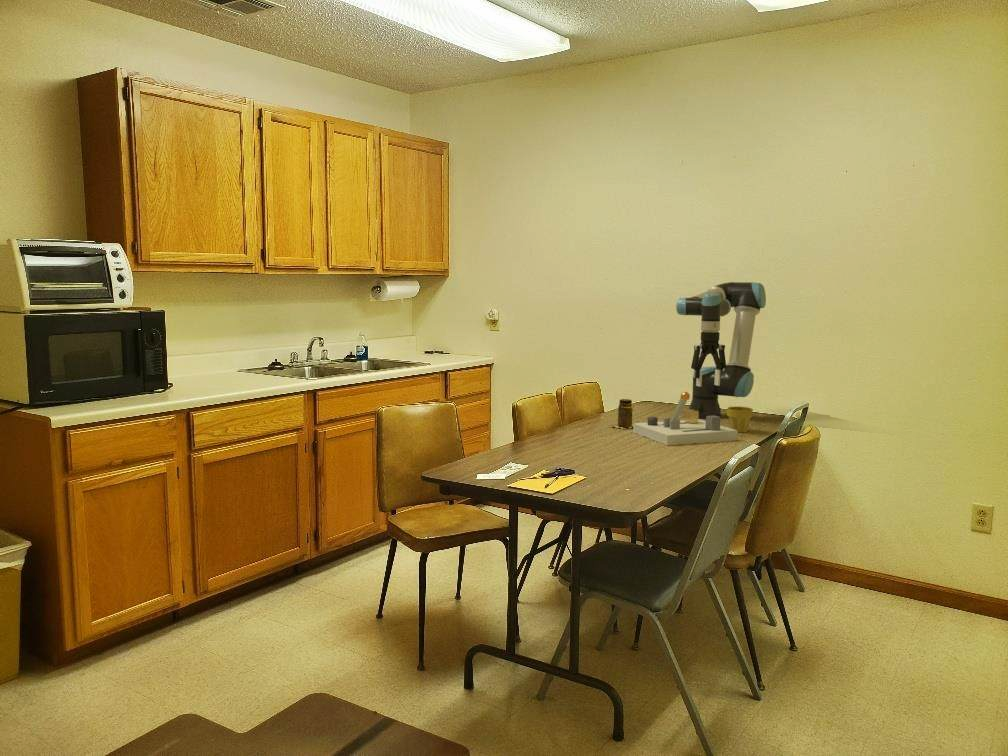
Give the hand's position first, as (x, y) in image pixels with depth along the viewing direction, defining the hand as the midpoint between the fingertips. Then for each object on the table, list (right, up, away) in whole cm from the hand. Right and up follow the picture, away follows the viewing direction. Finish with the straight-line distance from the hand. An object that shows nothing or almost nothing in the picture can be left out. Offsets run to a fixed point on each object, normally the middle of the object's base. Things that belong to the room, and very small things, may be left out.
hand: (707, 385), depth 323 cm
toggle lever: (-18, -15, -12) cm, 26 cm away
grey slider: (-2, -17, -15) cm, 23 cm away
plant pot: (+14, -19, +3) cm, 24 cm away
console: (-12, -21, -9) cm, 26 cm away
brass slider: (-7, -15, -1) cm, 17 cm away
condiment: (-34, -18, +9) cm, 40 cm away
